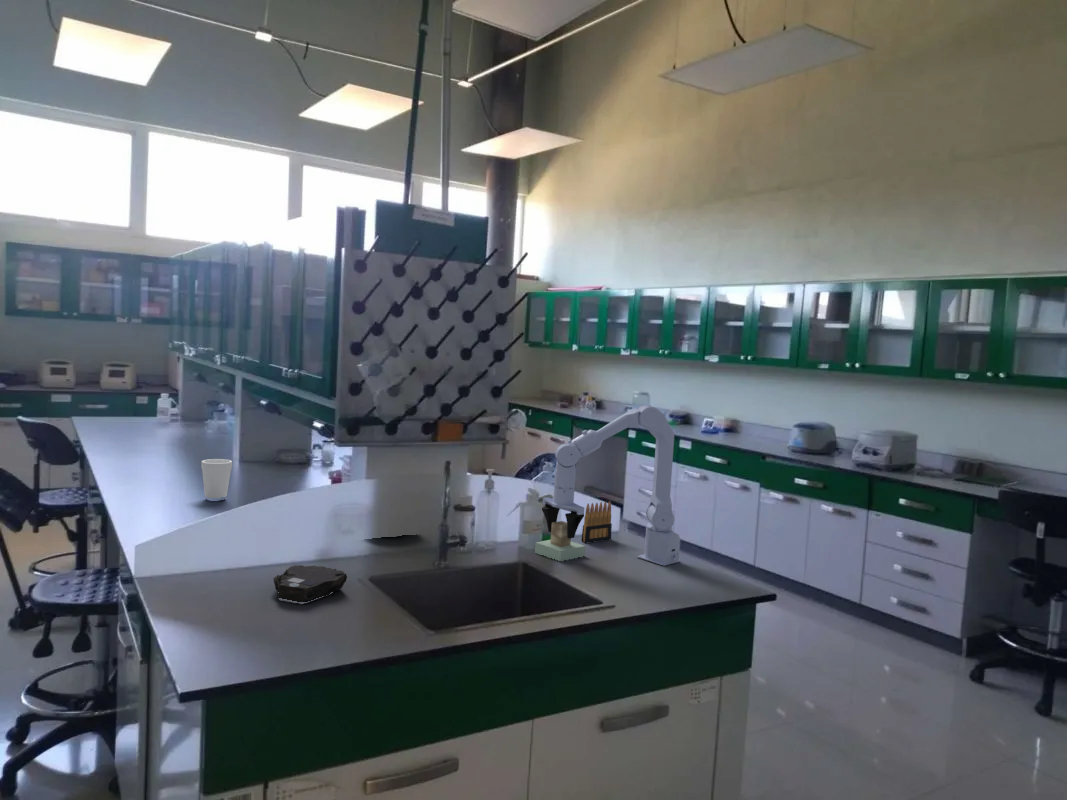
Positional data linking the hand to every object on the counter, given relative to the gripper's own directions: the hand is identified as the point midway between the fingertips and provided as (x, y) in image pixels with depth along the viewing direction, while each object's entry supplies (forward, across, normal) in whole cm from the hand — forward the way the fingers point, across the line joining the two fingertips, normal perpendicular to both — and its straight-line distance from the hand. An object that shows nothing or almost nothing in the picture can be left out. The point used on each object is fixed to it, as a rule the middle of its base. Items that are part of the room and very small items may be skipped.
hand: (561, 534), depth 215 cm
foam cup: (+6, -108, -55) cm, 121 cm away
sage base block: (+6, 0, 0) cm, 6 cm away
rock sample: (+6, -8, -72) cm, 73 cm away
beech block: (+3, 0, 0) cm, 3 cm away
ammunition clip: (+6, -5, +21) cm, 22 cm away
